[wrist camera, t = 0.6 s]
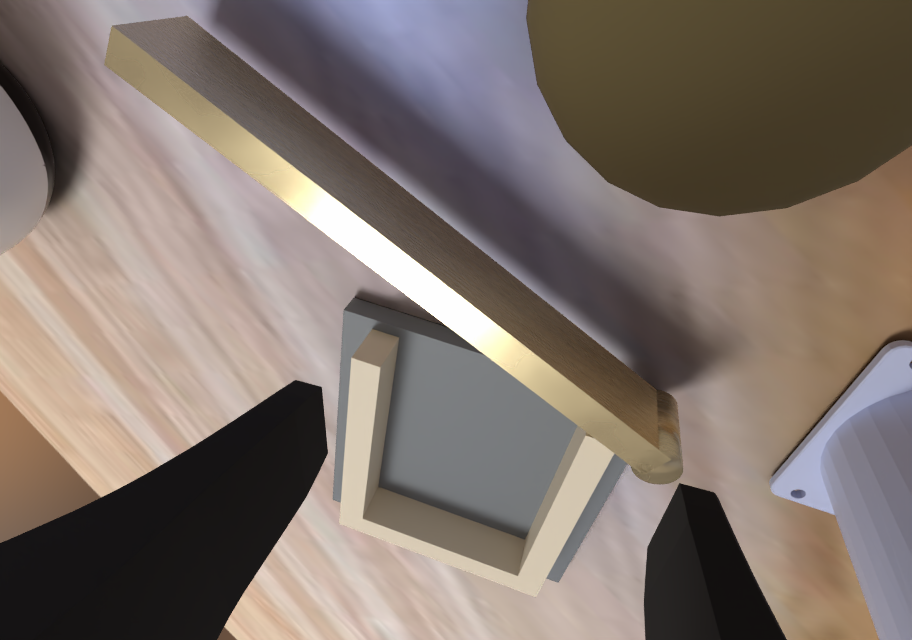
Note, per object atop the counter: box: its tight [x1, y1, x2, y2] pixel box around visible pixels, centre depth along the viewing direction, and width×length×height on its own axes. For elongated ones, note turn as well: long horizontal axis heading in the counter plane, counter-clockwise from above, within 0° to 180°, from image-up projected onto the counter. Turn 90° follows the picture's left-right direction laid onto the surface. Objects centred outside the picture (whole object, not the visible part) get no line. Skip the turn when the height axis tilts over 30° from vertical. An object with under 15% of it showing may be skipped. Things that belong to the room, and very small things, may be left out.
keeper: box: [104, 16, 683, 484], centre depth 17 cm, size 21×2×3 cm, turn 55°
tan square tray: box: [333, 298, 627, 597], centre depth 25 cm, size 13×13×3 cm
